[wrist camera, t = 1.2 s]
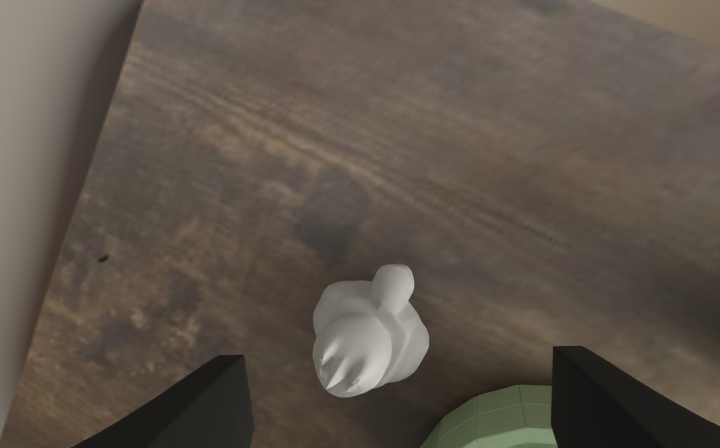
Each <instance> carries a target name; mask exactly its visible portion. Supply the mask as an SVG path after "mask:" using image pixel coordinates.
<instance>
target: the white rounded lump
mask: <svg viewBox="0 0 720 448" xmlns="http://www.w3.org/2000/svg"><path fill="white" fill-rule="evenodd" d="M413 290H414V277H413V274H412V272H411V270H410V268H409V267H407V266H406V265H404V264H388V265H384V266H382V267H380V268H379V269H378V271H377V273H376V275H375V277H374V279H373V281H372V282H371V281H364V280H357V281H340V282H336V283H334V284H331V285H329V286H328V287H327V288H326V289H325V290H324V292H323V294H322V296H321V298H320V300H319V302H318V304H317V306H316V308H315V310H314V314H313V325H314V330H315V334H316V336H317V338H316V341H315V343H314V347H313V360H314V365H315V369H316V372H317V376H318V378H319V380H320V382H321V384H322V386H323V387H324V388H325V389H326V390H327V391H328V392H329V393H330V394H332V395H334V396H337V397H352V396H357V395H359V394H362V393H365V392H367V391H369V390H371V389H373V388H378V387H381V386H383V385H384V384H385V383H391V382H397V381H400V380H403V379H405V378H407V377H409V376H410V375H412V374H413V373H414V372H415V371H416V370H417V368H418V366H419V365H420V363H421V361H422V359H423V358H424V356H425V354H426V352H427V350H428V347H429V334H428V331H427V329H426V327H425V326H424V324H423V323H422V322H421V320H420V318H419V315H418V313H417V312H416V310H415V309H414V308H413V306H412V305H411V304H410V302H409V301H408V299H409V298H410V296H411V295H412V292H413Z"/></svg>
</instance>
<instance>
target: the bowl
mask: <svg viewBox="0 0 720 448" xmlns="http://www.w3.org/2000/svg"><path fill="white" fill-rule="evenodd" d="M551 396H552V386H543V385H521V384H520V385H519V386H518V385H515V386H511V387H507V388H503V389H499V390H496V391H492V392H488V393H484V394H480V395H478V396H475V397H473V398H472V399H470V400H469V401H467V402H466V403H464V404H463V405H461V406H460V407H458V408H456V409H455V410H453V411H452V412H450V413H449V414H447V415H446V416H444V417H443V418H442V419H441V420H440V422H439V423H438V424H437V426H436V427H435V428H434V430H433V431H432V432H431V434H430V435H429V436H428V438H427V439H426V440H425V441H424V443H423V444H422V445H421V447H420V448H558V447H557V443H556V440H555V437H554V434H553V431H552V427H551Z"/></svg>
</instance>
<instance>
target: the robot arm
mask: <svg viewBox="0 0 720 448" xmlns="http://www.w3.org/2000/svg"><path fill="white" fill-rule="evenodd" d="M551 427H552V431H553V434H554V437H555V440H556V443H557V447H558V448H720V426H718V425H716V424H714V423H712V422H710V421H708V420H706V419H704V418H702V417H700V416H699V415H697V414H695V413H693V412H691V411H689V410H688V409H686V408H684V407H682V406H680V405H678V404H677V403H675V402H673V401H671V400H670V399H668V398H666V397H665V396H663V395H661V394H659V393H658V392H656V391H654V390H653V389H651V388H649V387H648V386H646V385H644V384H643V383H641V382H640V381H638V380H636V379H635V378H633V377H632V376H630V375H628V374H627V373H625V372H624V371H622V370H621V369H619V368H617V367H616V366H614V365H613V364H611V363H609V362H608V361H606V360H605V359H603V358H602V357H600V356H598V355H597V354H595V353H593V352H592V351H590V350H588V349H586V348H585V347H583V346H553V368H552V396H551ZM254 429H255V427H254V420H253V413H252V407H251V400H250V393H249V386H248V380H247V373H246V366H245V359H244V355H219V356H217V357H215V358H213V359H212V360H210V361H208V362H207V363H205V364H204V365H202V366H201V367H199V368H198V369H196V370H195V371H194V372H192V373H191V374H189V375H188V376H186V377H185V378H183V379H182V380H181V381H179V382H178V383H176V384H175V385H173V386H172V387H170V388H169V389H167V390H166V391H165V392H163V393H162V394H160V395H159V396H157V397H156V398H154V399H153V400H151V401H150V402H148V403H146V404H145V405H143V406H142V407H140V408H139V409H137V410H135V411H134V412H132V413H131V414H129V415H127V416H126V417H124V418H123V419H121V420H120V421H118V422H116V423H115V424H113V425H111V426H110V427H108V428H106V429H104V430H103V431H101V432H99V433H97V434H96V435H94V436H92V437H90V438H88V439H86V440H84V441H82V442H81V443H79V444H77V445H75V446H73V447H71V448H250V444H251V440H252V436H253V433H254Z"/></svg>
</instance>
